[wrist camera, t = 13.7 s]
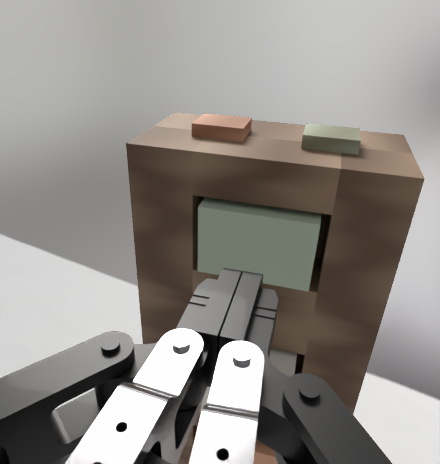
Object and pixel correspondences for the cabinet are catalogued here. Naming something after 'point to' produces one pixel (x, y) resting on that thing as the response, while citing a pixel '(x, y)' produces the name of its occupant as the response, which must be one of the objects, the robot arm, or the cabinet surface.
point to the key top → (258, 241)
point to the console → (284, 196)
